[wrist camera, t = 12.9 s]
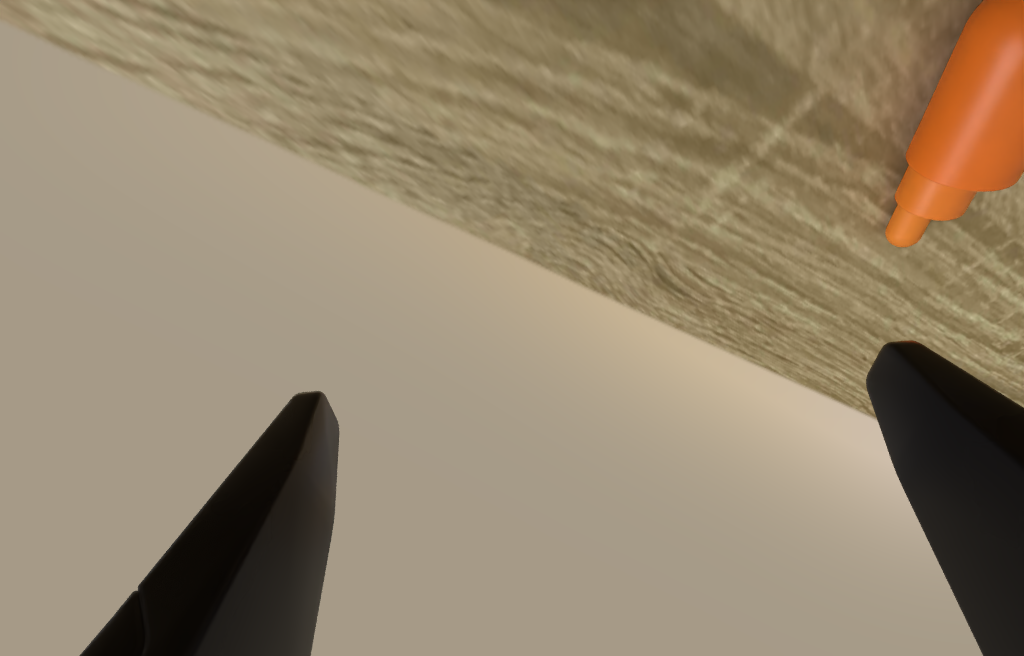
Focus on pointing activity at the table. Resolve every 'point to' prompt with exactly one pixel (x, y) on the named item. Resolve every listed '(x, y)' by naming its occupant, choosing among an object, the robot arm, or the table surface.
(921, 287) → the table surface
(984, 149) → the carrot
